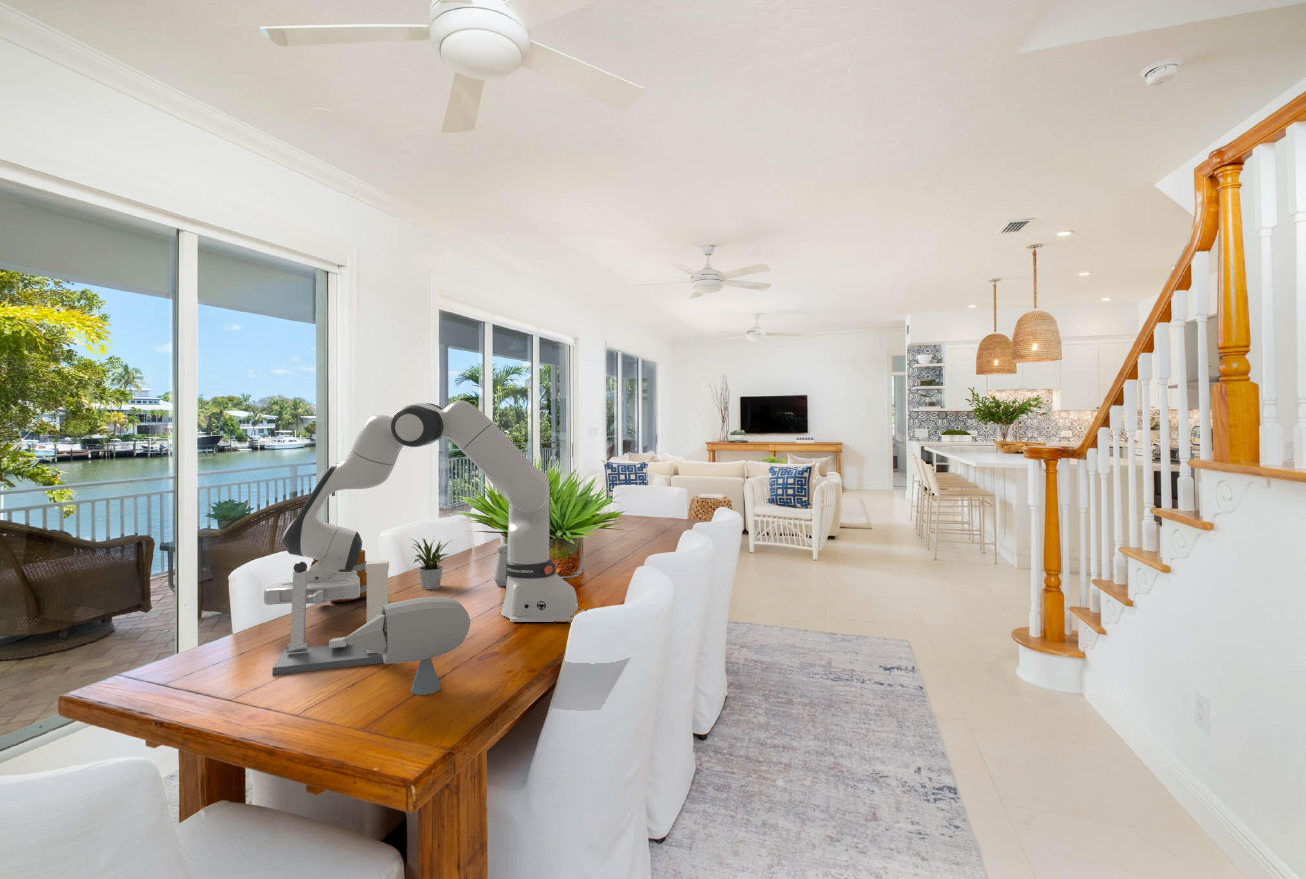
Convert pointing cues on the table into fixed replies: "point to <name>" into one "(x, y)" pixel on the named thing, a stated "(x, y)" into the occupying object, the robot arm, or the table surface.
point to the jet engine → (415, 635)
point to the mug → (361, 573)
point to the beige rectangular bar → (376, 588)
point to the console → (325, 659)
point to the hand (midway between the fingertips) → (307, 600)
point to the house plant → (430, 565)
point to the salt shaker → (501, 565)
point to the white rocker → (337, 642)
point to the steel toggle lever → (298, 609)
